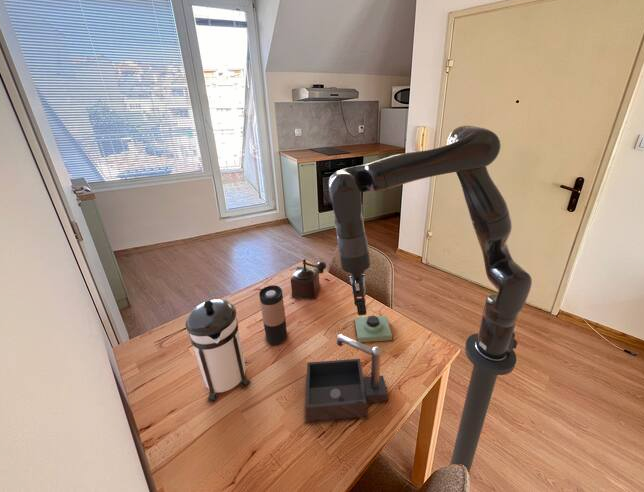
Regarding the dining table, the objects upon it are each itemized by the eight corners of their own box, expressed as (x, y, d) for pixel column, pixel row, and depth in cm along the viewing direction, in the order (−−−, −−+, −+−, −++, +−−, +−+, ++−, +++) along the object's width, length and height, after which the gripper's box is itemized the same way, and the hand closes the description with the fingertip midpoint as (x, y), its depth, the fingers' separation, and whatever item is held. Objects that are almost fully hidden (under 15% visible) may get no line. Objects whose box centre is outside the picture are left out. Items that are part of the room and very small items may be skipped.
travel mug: (264, 332, 108) (257, 288, 100) (285, 327, 110) (280, 283, 102) (267, 348, 101) (260, 301, 93) (289, 341, 104) (284, 296, 95)
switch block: (385, 320, 113) (386, 311, 111) (391, 340, 104) (392, 331, 102) (355, 322, 112) (355, 313, 110) (358, 342, 103) (358, 333, 101)
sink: (380, 370, 92) (380, 356, 90) (389, 415, 80) (391, 400, 77) (308, 376, 91) (307, 362, 88) (306, 422, 78) (305, 407, 76)
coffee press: (263, 364, 95) (250, 288, 83) (230, 410, 81) (209, 327, 69) (220, 350, 101) (202, 277, 88) (182, 390, 87) (155, 311, 75)
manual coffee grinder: (291, 298, 125) (287, 262, 118) (298, 283, 135) (295, 249, 128) (326, 301, 123) (325, 265, 116) (331, 286, 133) (330, 251, 126)
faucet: (380, 382, 85) (382, 346, 79) (377, 390, 83) (378, 353, 77) (340, 362, 91) (339, 328, 86) (335, 369, 89) (334, 333, 84)
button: (377, 318, 108) (377, 315, 108) (379, 326, 105) (379, 323, 104) (366, 319, 108) (366, 315, 107) (368, 327, 105) (368, 323, 104)
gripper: (369, 260, 67) (377, 320, 72) (367, 237, 80) (374, 288, 85) (337, 264, 67) (347, 323, 72) (340, 241, 81) (349, 291, 86)
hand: (362, 304), depth 79 cm, fingers open, 8 cm apart
